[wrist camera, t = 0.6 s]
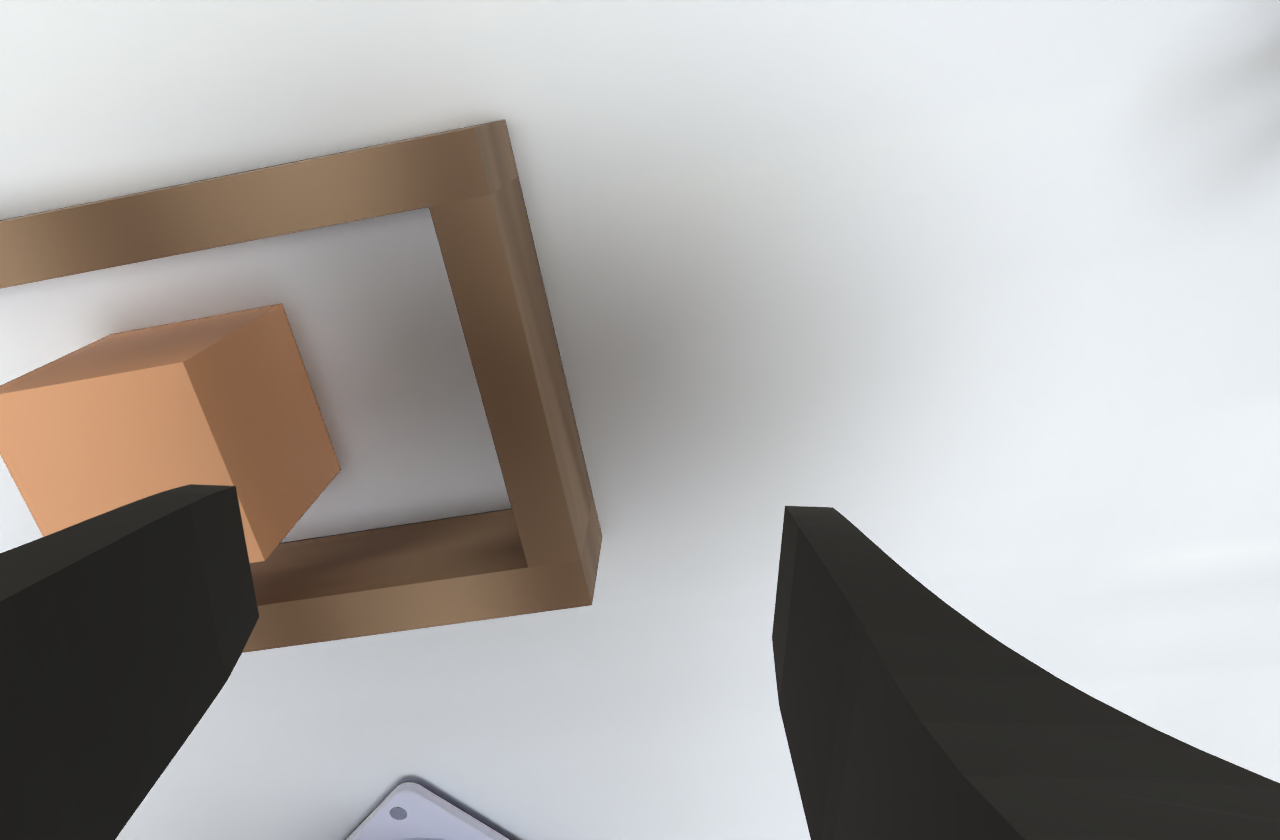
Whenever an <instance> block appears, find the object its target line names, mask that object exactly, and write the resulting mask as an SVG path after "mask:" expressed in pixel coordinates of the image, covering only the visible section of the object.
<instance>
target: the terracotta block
mask: <svg viewBox="0 0 1280 840" xmlns="http://www.w3.org/2000/svg"><path fill="white" fill-rule="evenodd" d="M0 455H1V457H2V459H3V461H4V462H5V464H6V466H7V468H8V470H9V472H10V474H11V476H12V478H13V480H14V482H15V484H16V485H17V487H18V489H19V491H20V493H21V495H22V497H23V499H24V501H25V503H26V505H27V507H28V508H29V510H30V512H31V514H32V516H33V518H34V520H35V522H36V524H37V526H38V528H39V530H40V531H41V533H42V535H43V537H45V536H47V535H50V534H52V533H55V532H57V531H60V530H63V529H65V528H68V527H70V526H73V525H75V524H78V523H80V522H83V521H85V520H88V519H90V518H93V517H96V516H98V515H101V514H103V513H106V512H108V511H111V510H114V509H116V508H119V507H121V506H124V505H127V504H129V503H132V502H135V501H137V500H140V499H143V498H146V497H149V496H152V495H155V494H157V493H160V492H164V491H167V490H170V489H174V488H178V487H182V486H186V485H190V484H195V485H223V486H236V490H237V496H238V502H239V507H240V513H241V518H242V524H243V529H244V535H245V540H246V546H247V551H248V557H249V563H254V562H261V561H265V560H266V559H267V558H268V556H269V555H270V554H271V553H272V552H273V550H274V549H275V548H276V547H277V546H278V544H279V543H280V542H281V541H282V540H283V538H284V537H285V536H286V535H287V534H288V532H289V531H290V530H291V529H292V528H293V526H294V525H295V524H296V523H297V522H298V520H299V519H300V518H301V517H302V516H303V514H304V513H305V512H306V511H307V510H308V508H309V507H310V506H311V505H312V504H313V502H314V501H315V500H316V499H317V498H318V496H319V495H320V494H321V493H322V492H323V490H324V489H325V488H326V487H327V486H328V484H329V483H330V482H331V481H332V480H333V478H334V477H335V476H336V475H337V474H338V472H339V471H340V470H341V469H340V466H339V463H338V460H337V457H336V455H335V452H334V449H333V446H332V443H331V441H330V438H329V435H328V432H327V429H326V426H325V424H324V421H323V418H322V415H321V412H320V409H319V407H318V404H317V401H316V398H315V395H314V393H313V390H312V387H311V384H310V381H309V378H308V376H307V373H306V370H305V367H304V364H303V361H302V359H301V356H300V353H299V350H298V347H297V345H296V342H295V339H294V336H293V333H292V330H291V328H290V325H289V322H288V319H287V316H286V313H285V311H284V308H283V305H282V304H276V305H271V306H265V307H260V308H254V309H249V310H243V311H238V312H232V313H226V314H221V315H215V316H210V317H204V318H199V319H193V320H188V321H182V322H177V323H171V324H166V325H160V326H154V327H149V328H143V329H138V330H132V331H127V332H121V333H116V334H110V335H108V336H106V337H104V338H102V339H100V340H98V341H95V342H93V343H91V344H89V345H87V346H85V347H83V348H80V349H78V350H76V351H74V352H72V353H70V354H68V355H65V356H63V357H61V358H59V359H57V360H55V361H53V362H50V363H48V364H46V365H44V366H42V367H40V368H38V369H35V370H33V371H31V372H29V373H27V374H25V375H23V376H20V377H18V378H16V379H14V380H12V381H10V382H8V383H5V384H3V385H1V386H0Z"/></svg>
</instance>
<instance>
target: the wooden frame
mask: <svg viewBox="0 0 1280 840" xmlns="http://www.w3.org/2000/svg"><path fill="white" fill-rule="evenodd" d="M425 207H429V209H430V212H431V216H432V220H433V223H434V227H435V231H436V234H437V238H438V242H439V245H440V249H441V252H442V256H443V260H444V263H445V267H446V271H447V274H448V278H449V281H450V285H451V289H452V292H453V296H454V300H455V303H456V307H457V311H458V314H459V318H460V321H461V325H462V329H463V332H464V336H465V340H466V343H467V347H468V350H469V354H470V358H471V361H472V365H473V369H474V372H475V376H476V380H477V383H478V387H479V390H480V394H481V398H482V401H483V405H484V409H485V412H486V416H487V419H488V423H489V427H490V430H491V434H492V438H493V441H494V445H495V449H496V452H497V456H498V459H499V463H500V467H501V470H502V474H503V478H504V481H505V485H506V488H507V492H508V496H509V499H510V503H511V507H512V509H508V510H502V511H495V512H488V513H482V514H475V515H468V516H462V517H455V518H448V519H442V520H435V521H428V522H422V523H415V524H408V525H402V526H395V527H388V528H381V529H375V530H368V531H361V532H355V533H348V534H341V535H335V536H328V537H321V538H315V539H308V540H301V541H295V542H288V543H281V544H278V546H277V547H276V548H275V549H274V550H273V552H272V553H271V554H270V555H269V556H268V558H267V559H266V560H265V561H261V562H254V563H250V568H251V574H252V579H253V585H254V590H255V596H256V601H257V607H258V613H259V618H258V620H257V623H256V625H255V627H254V629H253V631H252V633H251V635H250V637H249V639H248V641H247V643H246V645H245V647H244V649H243V652H250V651H258V650H265V649H272V648H280V647H287V646H294V645H302V644H309V643H317V642H324V641H331V640H339V639H346V638H353V637H361V636H368V635H375V634H383V633H390V632H397V631H405V630H412V629H419V628H427V627H434V626H442V625H449V624H456V623H464V622H471V621H478V620H486V619H493V618H500V617H508V616H515V615H522V614H530V613H537V612H545V611H552V610H559V609H567V608H574V607H581V606H589V605H592V601H593V594H594V588H595V581H596V575H597V568H598V562H599V555H600V549H601V542H602V534H601V530H600V525H599V521H598V517H597V513H596V508H595V504H594V500H593V495H592V491H591V487H590V482H589V478H588V474H587V470H586V465H585V461H584V457H583V452H582V448H581V444H580V440H579V435H578V431H577V427H576V422H575V418H574V414H573V409H572V405H571V401H570V397H569V392H568V388H567V384H566V379H565V375H564V371H563V367H562V362H561V358H560V354H559V349H558V345H557V341H556V337H555V332H554V328H553V324H552V319H551V315H550V311H549V306H548V302H547V298H546V294H545V289H544V285H543V281H542V276H541V272H540V268H539V264H538V259H537V255H536V251H535V246H534V242H533V238H532V233H531V229H530V225H529V221H528V216H527V212H526V208H525V203H524V199H523V195H522V191H521V186H520V182H519V178H518V173H517V169H516V165H515V161H514V156H513V152H512V148H511V143H510V139H509V135H508V130H507V126H506V122H505V120H500V121H495V122H490V123H485V124H480V125H475V126H470V127H465V128H460V129H455V130H450V131H445V132H440V133H435V134H430V135H425V136H420V137H415V138H410V139H405V140H400V141H395V142H390V143H385V144H380V145H375V146H370V147H365V148H360V149H355V150H350V151H345V152H340V153H335V154H330V155H325V156H320V157H315V158H310V159H305V160H300V161H295V162H290V163H285V164H280V165H275V166H270V167H265V168H260V169H255V170H250V171H245V172H240V173H235V174H230V175H225V176H220V177H215V178H210V179H205V180H200V181H195V182H190V183H185V184H180V185H175V186H170V187H165V188H160V189H155V190H150V191H145V192H140V193H135V194H130V195H125V196H120V197H115V198H110V199H105V200H100V201H95V202H90V203H85V204H80V205H75V206H70V207H65V208H60V209H55V210H50V211H45V212H40V213H35V214H30V215H25V216H20V217H15V218H10V219H5V220H0V288H5V287H10V286H16V285H21V284H26V283H31V282H37V281H42V280H47V279H52V278H58V277H63V276H68V275H73V274H79V273H84V272H89V271H94V270H100V269H105V268H110V267H115V266H121V265H126V264H131V263H136V262H142V261H147V260H152V259H157V258H163V257H168V256H173V255H178V254H184V253H189V252H194V251H199V250H205V249H210V248H215V247H220V246H226V245H231V244H236V243H241V242H247V241H252V240H257V239H262V238H268V237H273V236H278V235H283V234H288V233H294V232H299V231H304V230H309V229H315V228H320V227H325V226H330V225H336V224H341V223H346V222H351V221H357V220H362V219H367V218H372V217H378V216H383V215H388V214H393V213H399V212H404V211H409V210H414V209H420V208H425ZM243 652H242V653H243Z"/></svg>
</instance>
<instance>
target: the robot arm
mask: <svg viewBox="0 0 1280 840" xmlns="http://www.w3.org/2000/svg"><path fill="white" fill-rule="evenodd" d="M258 618H259V613H258V607H257V601H256V596H255V590H254V585H253V579H252V574H251V568H250V563H249V557H248V551H247V546H246V540H245V535H244V529H243V524H242V518H241V513H240V507H239V502H238V496H237V490H236V486H223V485H195V484H190V485H186V486H182V487H178V488H174V489H170V490H167V491H164V492H160V493H157V494H155V495H152V496H149V497H146V498H143V499H140V500H137V501H135V502H132V503H129V504H127V505H124V506H121V507H119V508H116V509H114V510H111V511H108V512H106V513H103V514H101V515H98V516H96V517H93V518H90V519H88V520H85V521H83V522H80V523H78V524H75V525H73V526H70V527H68V528H65V529H63V530H60V531H57V532H55V533H52V534H50V535H47V536H45V537H42V538H40V539H37V540H35V541H32V542H30V543H27V544H24V545H22V546H19V547H17V548H14V549H11V550H8V551H6V552H3V553H0V840H115V839H116V838H117V836H118V835H119V833H120V832H121V830H122V829H123V827H124V826H125V825H126V823H127V822H128V820H129V819H130V818H131V816H132V815H133V813H134V812H135V811H136V809H137V808H138V806H139V805H140V804H141V802H142V801H143V799H144V798H145V797H146V795H147V794H148V792H149V791H150V790H151V788H152V787H153V785H154V784H155V783H156V781H157V780H158V778H159V777H160V776H161V774H162V773H163V771H164V770H165V769H166V767H167V766H168V764H169V763H170V762H171V760H172V759H173V757H174V756H175V755H176V753H177V752H178V750H179V749H180V748H181V746H182V745H183V743H184V742H185V741H186V739H187V738H188V736H189V735H190V734H191V732H192V731H193V729H194V728H195V726H196V725H197V724H198V722H199V721H200V719H201V718H202V716H203V715H204V714H205V712H206V711H207V709H208V708H209V706H210V705H211V704H212V702H213V701H214V699H215V698H216V696H217V695H218V693H219V692H220V690H221V689H222V687H223V686H224V684H225V683H226V681H227V680H228V678H229V676H230V674H231V672H232V670H233V668H234V667H235V665H236V663H237V661H238V659H239V657H240V655H241V653H242V652H243V649H244V647H245V645H246V643H247V641H248V639H249V637H250V635H251V633H252V631H253V629H254V627H255V625H256V623H257V620H258ZM772 641H773V651H774V661H775V672H776V681H777V690H778V699H779V706H780V711H781V715H782V719H783V724H784V728H785V732H786V737H787V741H788V745H789V749H790V754H791V758H792V762H793V766H794V771H795V775H796V779H797V783H798V787H799V791H800V795H801V800H802V804H803V808H804V812H805V816H806V820H807V825H808V829H809V833H810V837H811V840H1280V783H1278V782H1275V781H1273V780H1270V779H1268V778H1265V777H1263V776H1261V775H1258V774H1256V773H1254V772H1251V771H1249V770H1246V769H1244V768H1242V767H1239V766H1237V765H1235V764H1232V763H1230V762H1228V761H1225V760H1223V759H1221V758H1218V757H1216V756H1213V755H1211V754H1209V753H1206V752H1204V751H1202V750H1199V749H1197V748H1195V747H1193V746H1191V745H1188V744H1186V743H1184V742H1182V741H1180V740H1178V739H1175V738H1173V737H1171V736H1169V735H1167V734H1165V733H1162V732H1160V731H1158V730H1156V729H1154V728H1152V727H1150V726H1148V725H1146V724H1144V723H1142V722H1140V721H1138V720H1136V719H1134V718H1132V717H1130V716H1128V715H1126V714H1124V713H1122V712H1120V711H1118V710H1117V709H1115V708H1113V707H1111V706H1109V705H1107V704H1105V703H1103V702H1101V701H1099V700H1097V699H1095V698H1093V697H1091V696H1089V695H1087V694H1086V693H1084V692H1082V691H1080V690H1078V689H1077V688H1075V687H1073V686H1071V685H1069V684H1068V683H1066V682H1064V681H1062V680H1061V679H1059V678H1057V677H1055V676H1054V675H1052V674H1050V673H1049V672H1047V671H1046V670H1044V669H1042V668H1041V667H1039V666H1038V665H1036V664H1034V663H1033V662H1031V661H1029V660H1028V659H1026V658H1025V657H1023V656H1021V655H1020V654H1018V653H1016V652H1015V651H1013V650H1012V649H1010V648H1008V647H1007V646H1005V645H1004V644H1002V643H1001V642H999V641H998V640H996V639H995V638H993V637H992V636H990V635H989V634H987V633H986V632H984V631H983V630H982V629H980V628H979V627H977V626H976V625H975V624H973V623H972V622H971V621H969V620H968V619H967V618H965V617H964V616H963V615H961V614H960V613H958V612H957V611H956V610H954V609H953V608H952V607H950V606H949V605H948V604H946V603H945V602H944V601H942V600H941V599H940V598H939V597H937V596H936V595H935V594H933V593H932V592H931V591H930V590H928V589H927V588H926V587H925V586H923V585H922V584H921V583H920V582H918V581H917V580H916V579H915V578H914V577H912V576H911V575H910V574H909V573H908V572H906V571H905V570H904V569H903V568H902V567H901V566H899V565H898V564H897V563H896V562H895V561H894V560H892V559H891V558H890V557H889V556H888V555H887V554H886V553H884V552H883V551H882V550H881V549H880V548H879V547H878V546H876V545H875V544H874V543H873V542H872V541H871V540H870V539H869V538H867V537H866V536H865V535H864V534H863V533H862V532H861V531H860V530H859V529H857V528H856V527H855V526H854V525H853V524H852V523H851V522H850V521H848V520H847V519H846V518H845V517H844V516H843V515H841V514H840V513H839V512H838V511H836V510H835V509H834V508H828V507H801V506H785V513H784V523H783V533H782V543H781V553H780V563H779V573H778V583H777V593H776V604H775V614H774V624H773V634H772ZM397 807H400V808H403V809H400V808H397ZM346 840H510V839H508V838H506V837H505V836H503V835H501V834H500V833H498V832H496V831H495V830H493V829H491V828H490V827H488V826H486V825H485V824H483V823H482V822H480V821H478V820H477V819H475V818H473V817H472V816H470V815H468V814H467V813H465V812H463V811H462V810H460V809H458V808H457V807H455V806H454V805H452V804H450V803H449V802H447V801H445V800H444V799H442V798H440V797H439V796H437V795H435V794H434V793H432V792H430V791H429V790H427V789H426V788H424V787H422V786H421V785H419V784H416V783H412V782H406V783H401V784H400V785H398V786H397V787H396V788H395V789H394V790H393V791H392V792H391V793H390V794H389V795H388V796H387V797H386V798H385V799H384V801H383V802H382V803H381V804H380V805H379V806H378V807H377V808H376V809H375V810H374V811H373V812H372V813H371V814H370V815H369V816H368V817H367V818H366V819H365V820H364V821H363V822H362V823H361V825H360V826H359V827H358V828H357V829H356V830H355V831H354V832H353V833H352V834H351V835H350V836H349V837H348V838H347V839H346Z"/></svg>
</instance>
